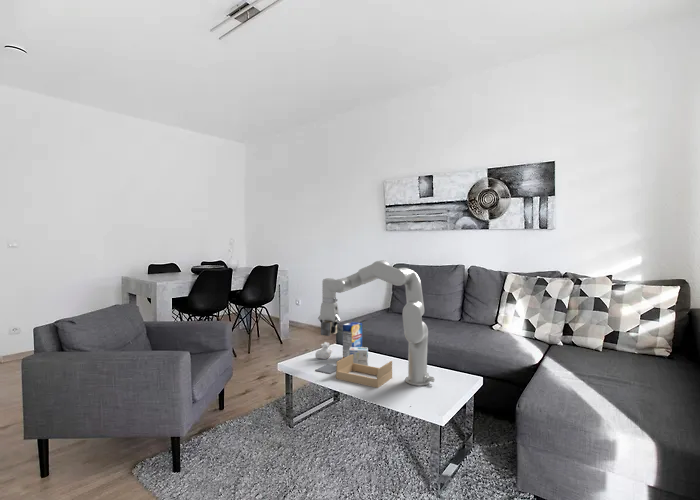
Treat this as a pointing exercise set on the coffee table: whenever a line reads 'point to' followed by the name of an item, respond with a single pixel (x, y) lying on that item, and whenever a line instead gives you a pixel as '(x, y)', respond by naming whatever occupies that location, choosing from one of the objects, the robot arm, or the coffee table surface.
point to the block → (327, 328)
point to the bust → (324, 351)
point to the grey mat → (327, 369)
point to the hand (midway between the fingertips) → (329, 332)
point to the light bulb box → (359, 355)
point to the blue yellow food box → (351, 336)
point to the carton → (347, 366)
